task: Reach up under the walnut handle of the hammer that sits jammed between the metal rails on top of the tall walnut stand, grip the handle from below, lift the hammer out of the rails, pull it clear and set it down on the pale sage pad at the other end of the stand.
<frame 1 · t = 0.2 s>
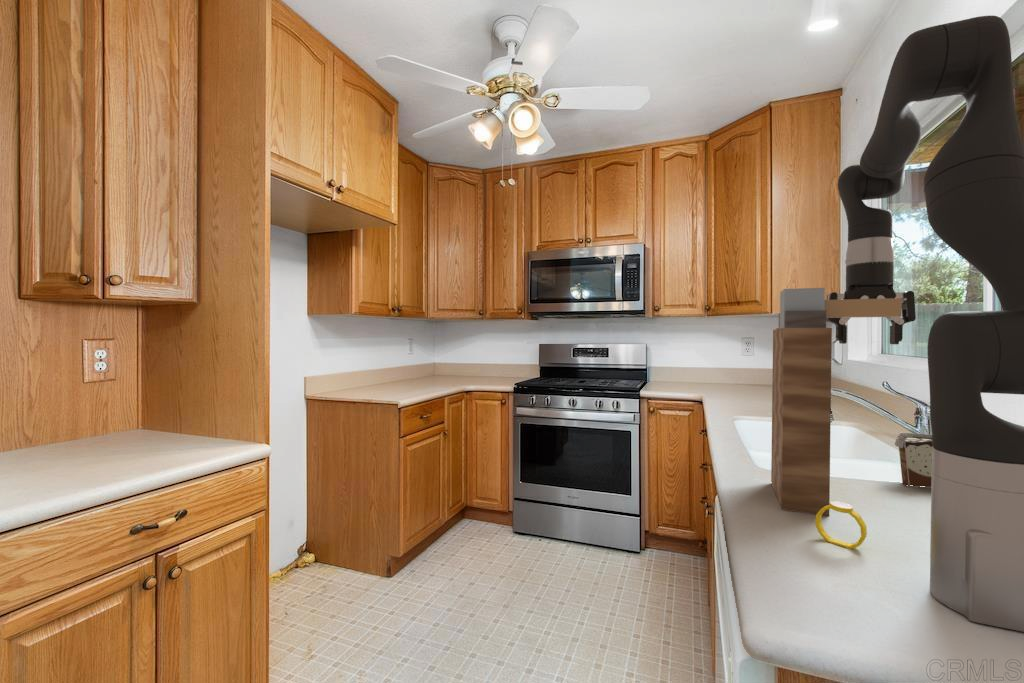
hand: (868, 343, 91), 29 cm above the table, tool pointing down, fingers open, 8 cm apart
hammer: (800, 328, 82), point 32 cm above the table, touching stand
stand: (797, 497, 86), on the table
watch: (840, 545, 66), on the table
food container: (921, 484, 95), on the table
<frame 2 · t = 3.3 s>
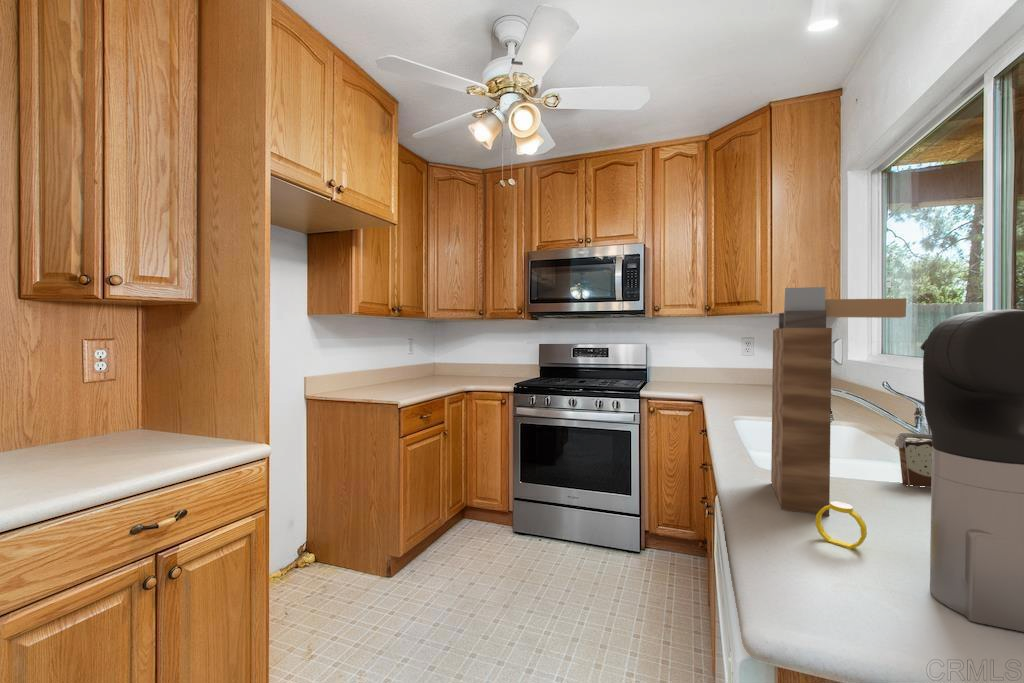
hand: (935, 343, 75), 30 cm above the table, tool pointing upward, fingers open, 8 cm apart
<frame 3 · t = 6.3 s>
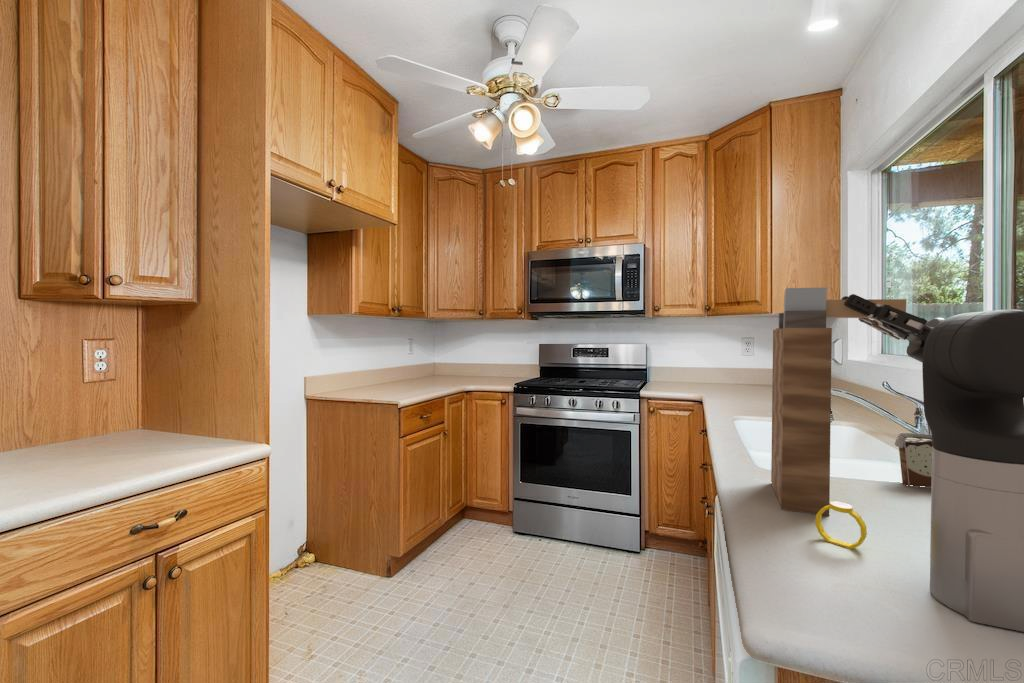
hand: (844, 300, 79), 37 cm above the table, tool pointing upward, fingers open, 4 cm apart
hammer: (803, 328, 82), point 32 cm above the table, touching gripper, stand
everything else where it was.
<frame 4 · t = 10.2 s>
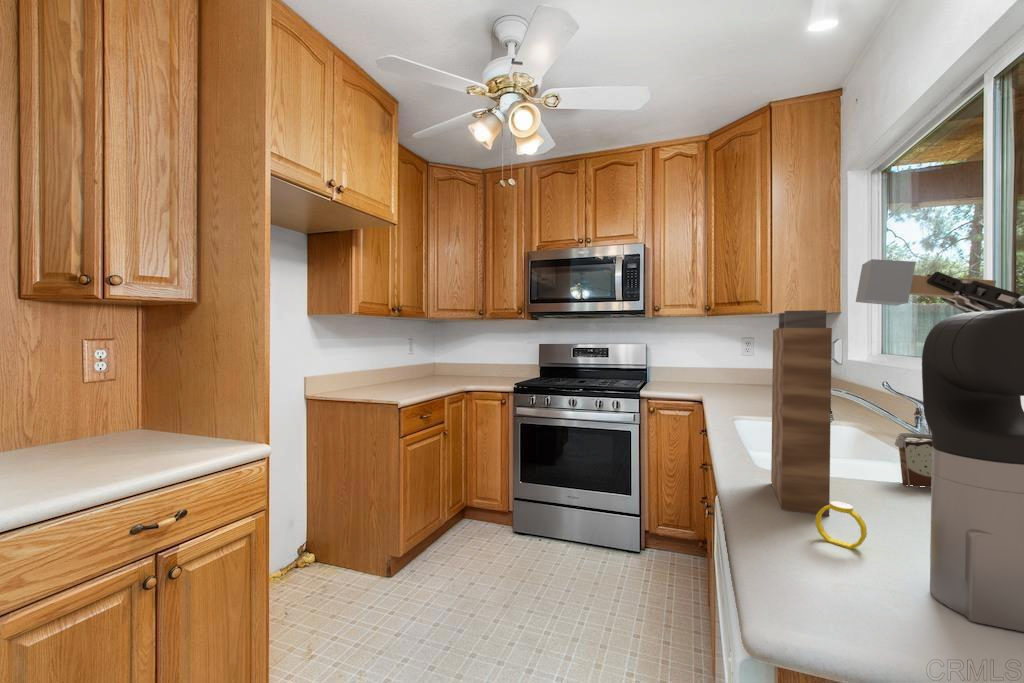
hand: (926, 278, 78), 41 cm above the table, tool pointing upward, fingers closed on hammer, 3 cm apart
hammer: (880, 302, 81), point 37 cm above the table, tilted 8°, touching gripper
everything else where it was.
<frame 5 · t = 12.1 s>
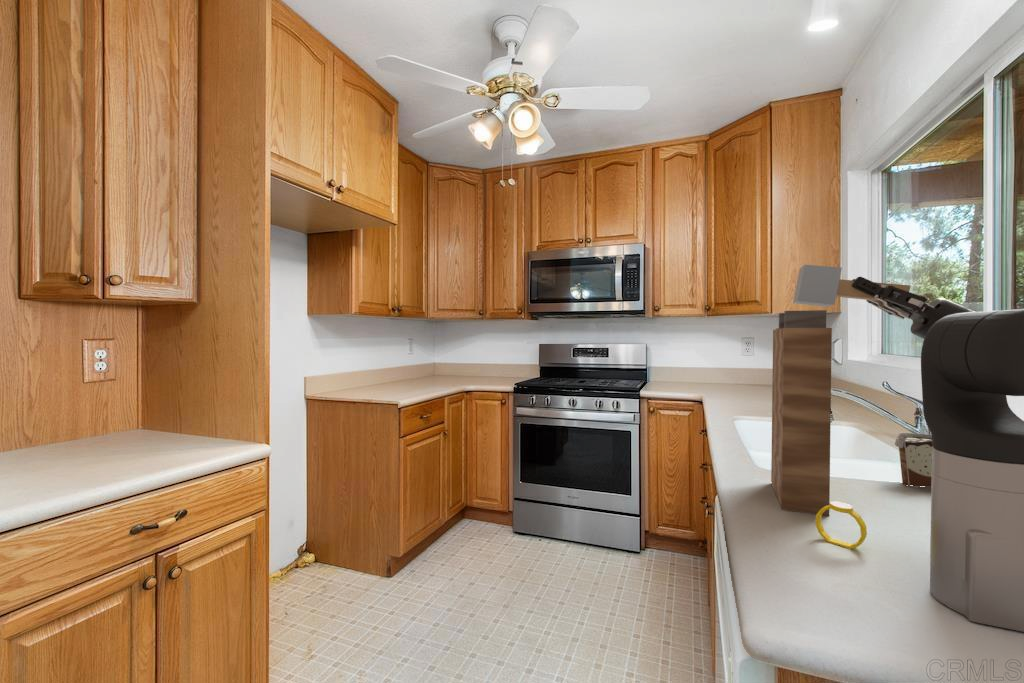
hand: (852, 282, 86), 41 cm above the table, tool pointing upward, fingers closed on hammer, 3 cm apart
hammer: (812, 303, 89), point 37 cm above the table, tilted 9°, touching gripper
everything else where it was.
when the fingers open (38 cm above the table, at t = 13.8 s): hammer drops 2 cm, resting on stand.
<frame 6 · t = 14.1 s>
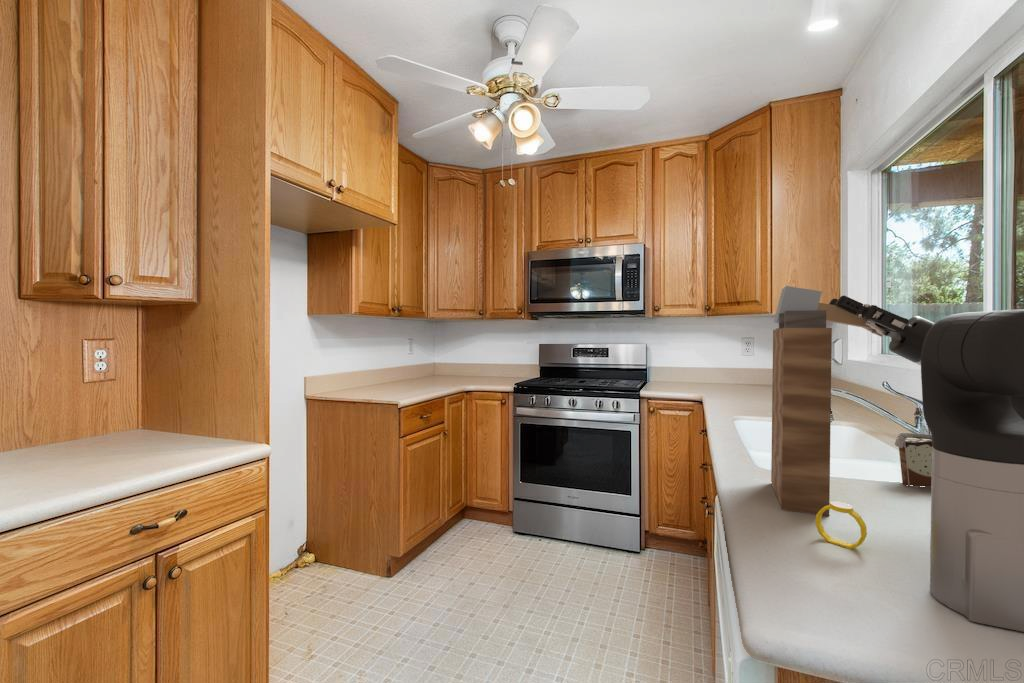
hand: (834, 301, 87), 37 cm above the table, tool pointing upward, fingers open, 6 cm apart
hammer: (792, 324, 90), point 33 cm above the table, tilted 12°, touching stand
everything else where it was.
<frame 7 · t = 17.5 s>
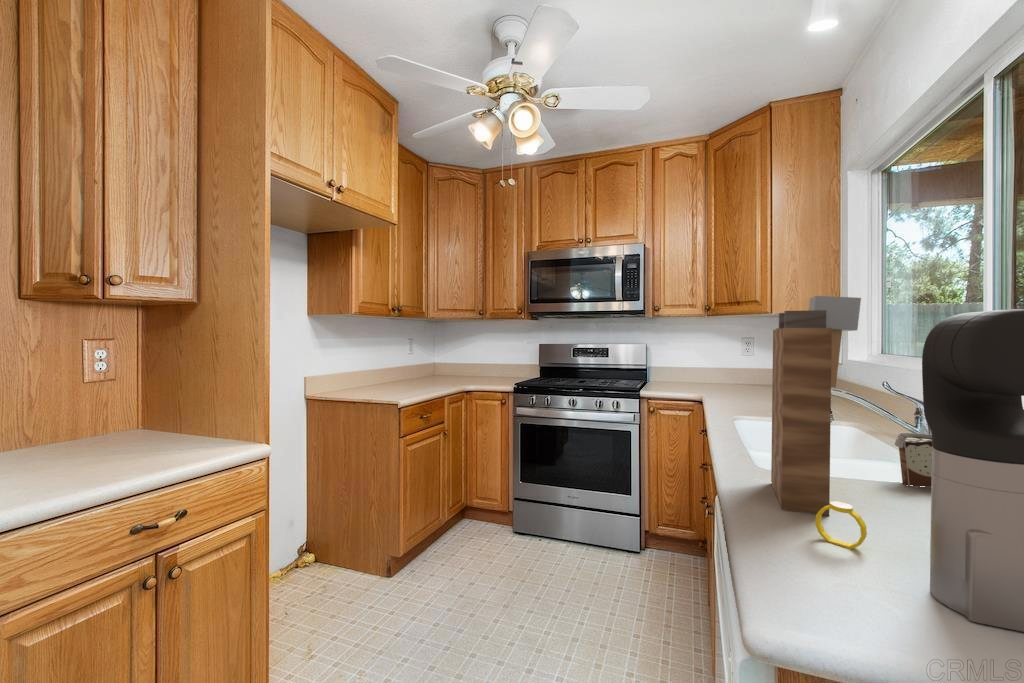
hand: (959, 355, 73), 28 cm above the table, tool pointing upward, fingers open, 8 cm apart
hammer: (811, 312, 89), point 35 cm above the table, tilted 95°, touching stand
everything else where it was.
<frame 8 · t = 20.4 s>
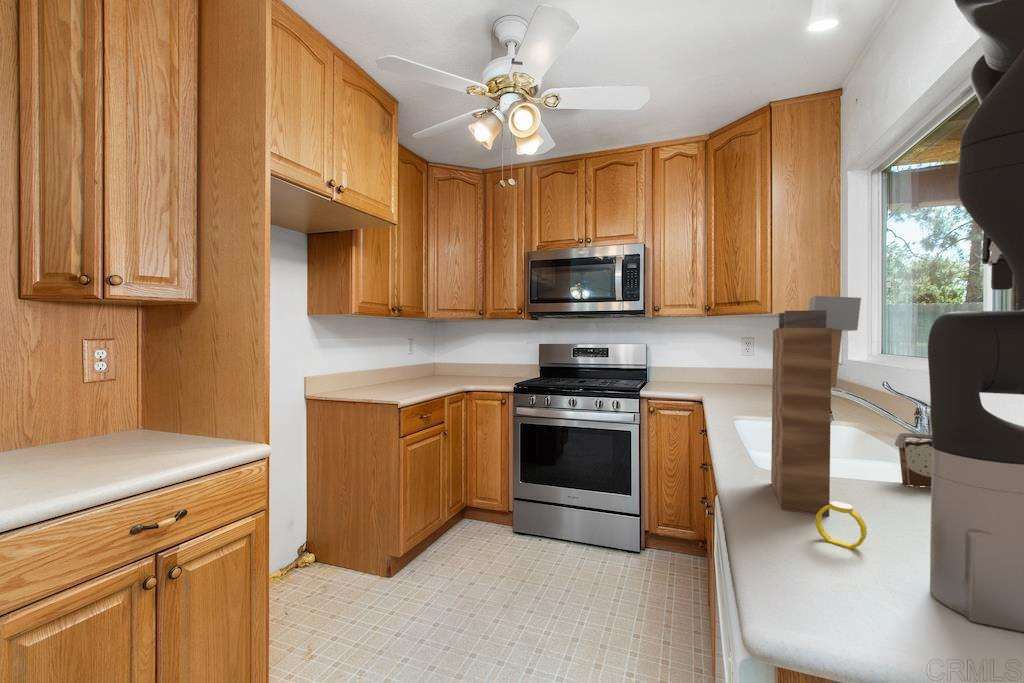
hand: (1018, 286, 67), 38 cm above the table, tool pointing down, fingers open, 8 cm apart
nothing on the table moved.
at the end: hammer inside the target area (3.3 cm from its centre), point 35.3 cm above the table; the gripper is holding nothing; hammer moved 9.5 cm from its start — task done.
